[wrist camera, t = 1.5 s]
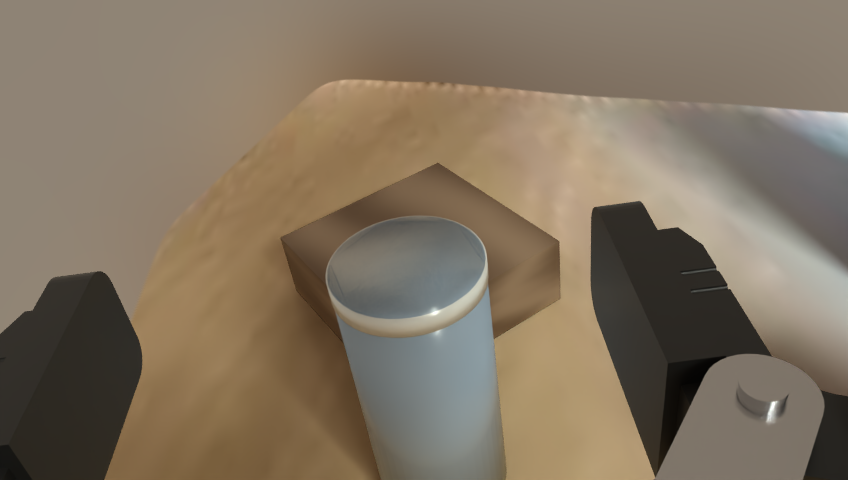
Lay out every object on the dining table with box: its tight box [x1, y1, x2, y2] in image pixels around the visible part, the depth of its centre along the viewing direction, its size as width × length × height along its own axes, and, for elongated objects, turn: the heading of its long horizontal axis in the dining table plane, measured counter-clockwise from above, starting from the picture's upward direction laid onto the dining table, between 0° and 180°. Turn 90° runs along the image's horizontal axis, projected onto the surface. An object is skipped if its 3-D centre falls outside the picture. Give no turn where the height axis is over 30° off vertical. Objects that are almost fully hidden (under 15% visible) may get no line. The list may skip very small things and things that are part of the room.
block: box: [281, 163, 560, 343], centre depth 42 cm, size 11×11×4 cm
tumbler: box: [325, 216, 506, 480], centre depth 30 cm, size 6×6×12 cm
